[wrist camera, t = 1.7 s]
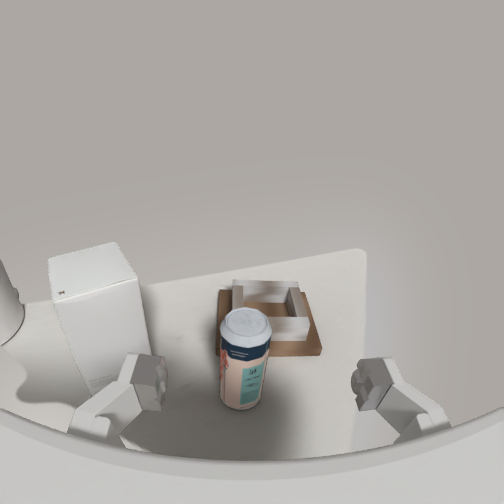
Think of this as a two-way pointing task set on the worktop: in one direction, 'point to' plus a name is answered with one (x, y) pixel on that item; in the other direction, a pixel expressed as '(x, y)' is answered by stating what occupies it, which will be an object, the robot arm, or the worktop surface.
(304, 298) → the socket base
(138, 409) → the robot arm
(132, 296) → the supplement box
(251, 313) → the beer can
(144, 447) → the worktop surface
